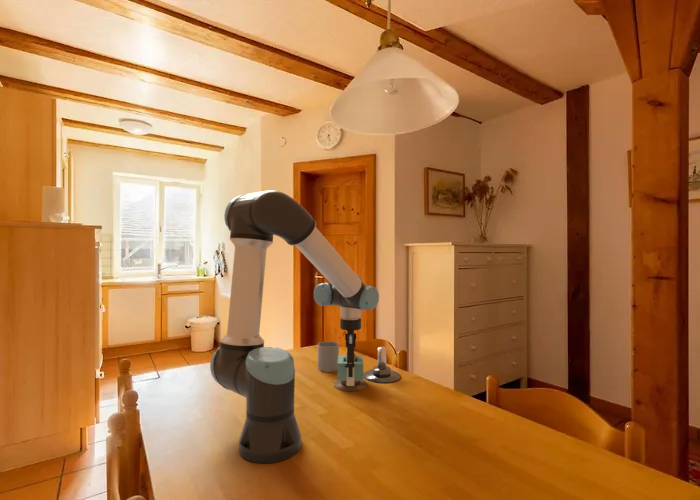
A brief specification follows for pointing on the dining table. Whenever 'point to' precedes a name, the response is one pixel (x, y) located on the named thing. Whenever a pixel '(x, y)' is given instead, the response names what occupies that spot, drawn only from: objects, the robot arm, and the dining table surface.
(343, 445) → the dining table surface
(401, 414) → the dining table surface
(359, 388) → the stand
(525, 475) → the dining table surface
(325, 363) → the cup
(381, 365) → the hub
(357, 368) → the teal square block
